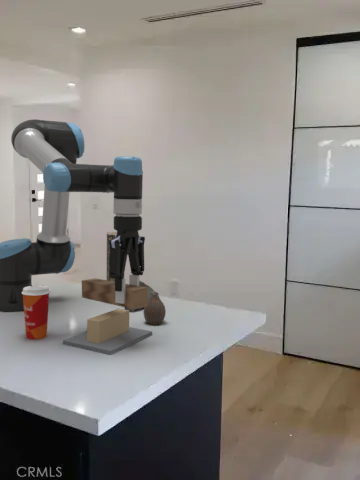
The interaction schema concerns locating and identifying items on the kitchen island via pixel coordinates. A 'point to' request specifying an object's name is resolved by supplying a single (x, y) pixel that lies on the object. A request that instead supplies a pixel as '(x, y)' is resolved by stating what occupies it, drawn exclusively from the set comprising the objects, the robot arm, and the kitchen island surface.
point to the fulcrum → (108, 333)
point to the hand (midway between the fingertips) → (127, 300)
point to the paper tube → (109, 237)
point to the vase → (154, 310)
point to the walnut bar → (106, 293)
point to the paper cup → (36, 311)
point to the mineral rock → (150, 292)
